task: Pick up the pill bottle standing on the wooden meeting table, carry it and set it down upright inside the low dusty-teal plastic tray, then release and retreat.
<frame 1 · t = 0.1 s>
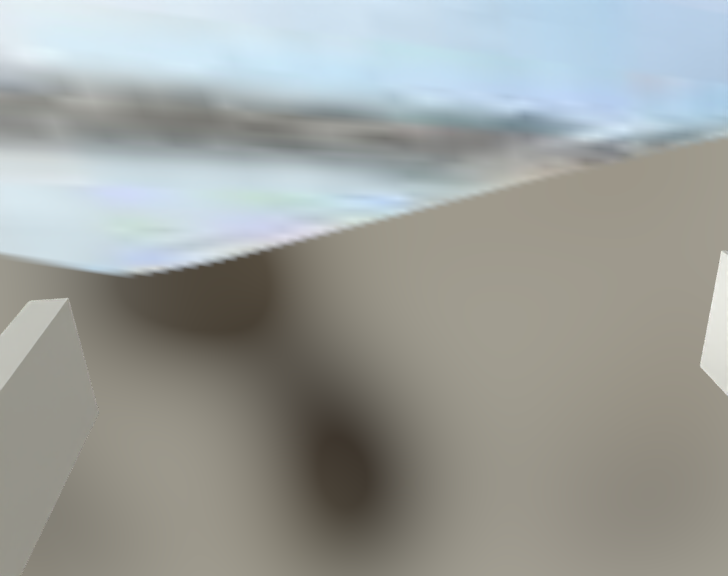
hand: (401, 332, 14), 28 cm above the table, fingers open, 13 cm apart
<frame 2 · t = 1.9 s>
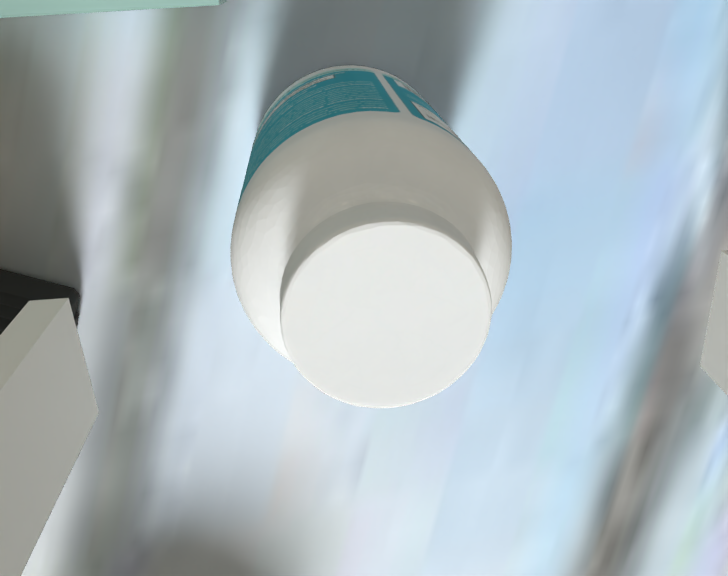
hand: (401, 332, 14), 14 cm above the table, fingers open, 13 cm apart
pill bottle: (349, 159, 27), on the table
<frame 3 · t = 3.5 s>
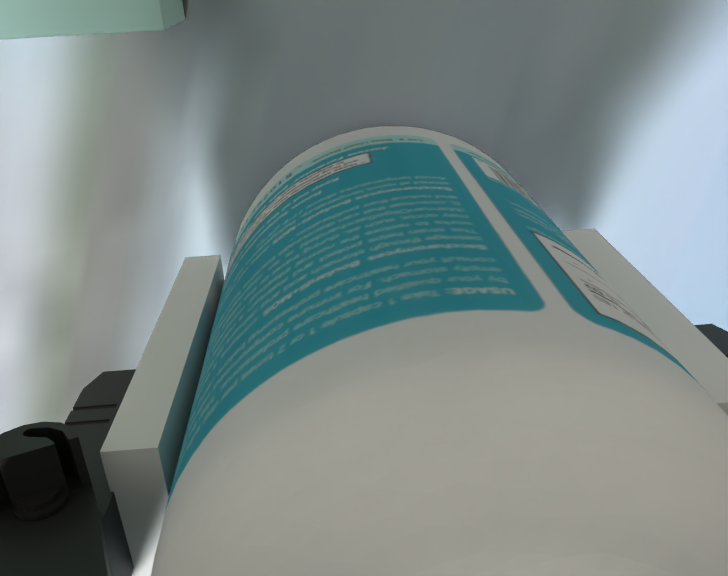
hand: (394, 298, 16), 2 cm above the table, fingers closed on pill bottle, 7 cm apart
pill bottle: (386, 265, 17), on the table, touching gripper
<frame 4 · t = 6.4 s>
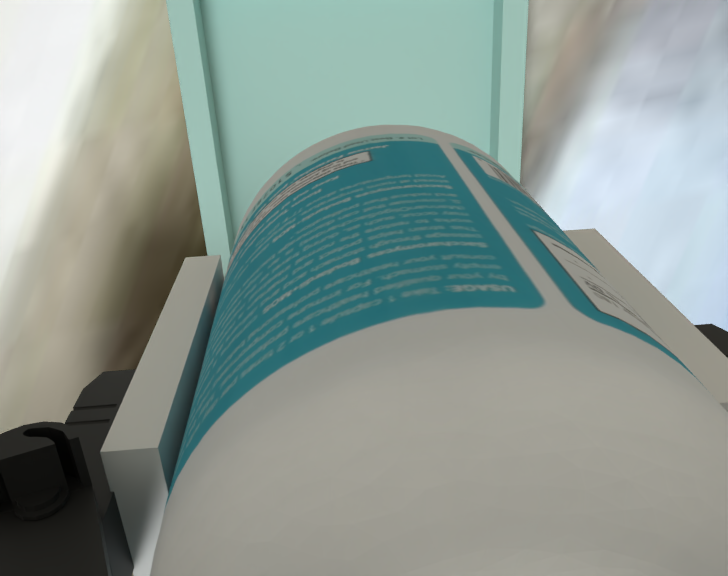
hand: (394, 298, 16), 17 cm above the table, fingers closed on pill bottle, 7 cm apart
pill bottle: (386, 264, 17), point 15 cm above the table, touching gripper
tray: (355, 129, 31), on the table
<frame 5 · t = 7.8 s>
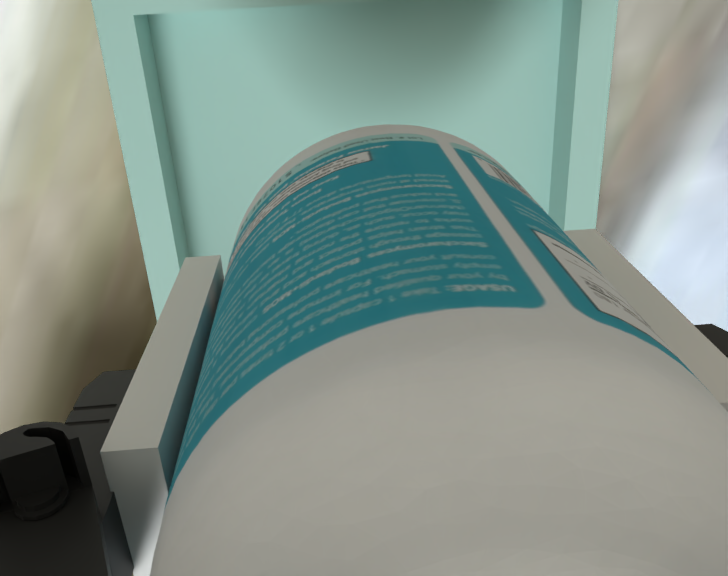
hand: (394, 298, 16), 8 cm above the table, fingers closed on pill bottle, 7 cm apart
pill bottle: (386, 264, 17), point 6 cm above the table, touching gripper
tray: (366, 193, 23), on the table
when the fingers open (3 cm above the table, at t = 9.2 s): pill bottle stays where it is, resting on tray.
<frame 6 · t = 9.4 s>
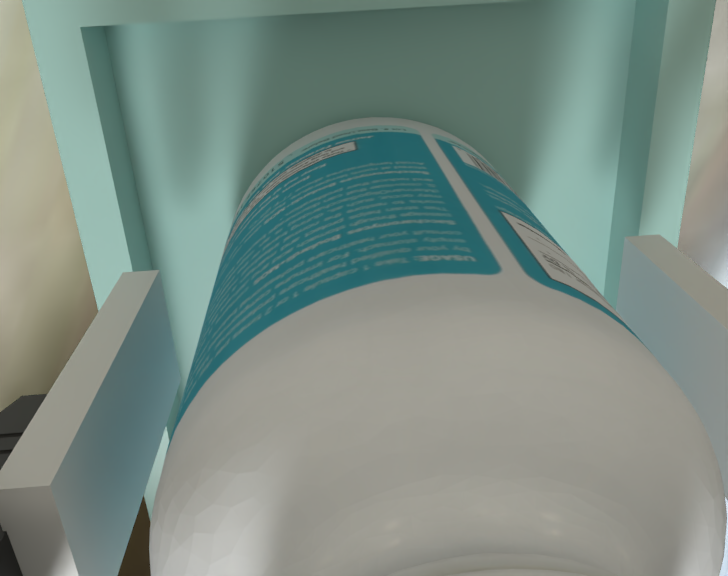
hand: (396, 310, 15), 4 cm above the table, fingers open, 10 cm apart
pill bottle: (375, 250, 18), resting on tray
tray: (381, 243, 19), on the table
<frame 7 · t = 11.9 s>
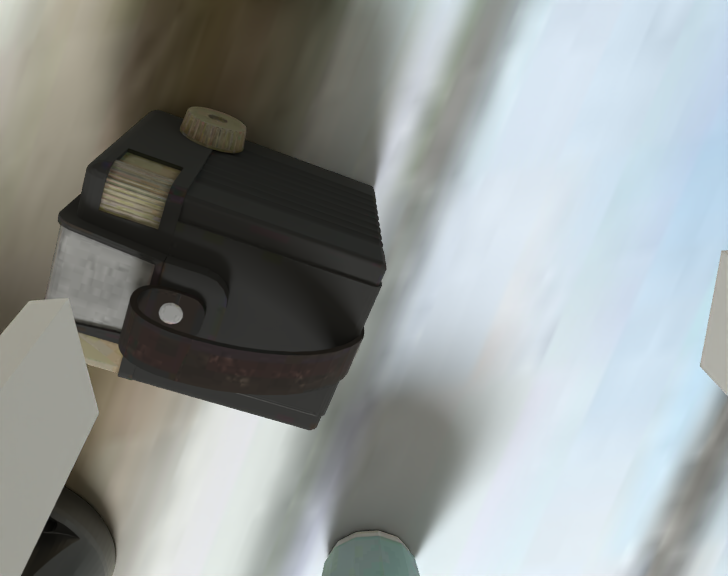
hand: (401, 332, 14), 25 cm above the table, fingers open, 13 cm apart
disposable coffee cup: (368, 560, 52), on the table
camera: (242, 212, 40), on the table
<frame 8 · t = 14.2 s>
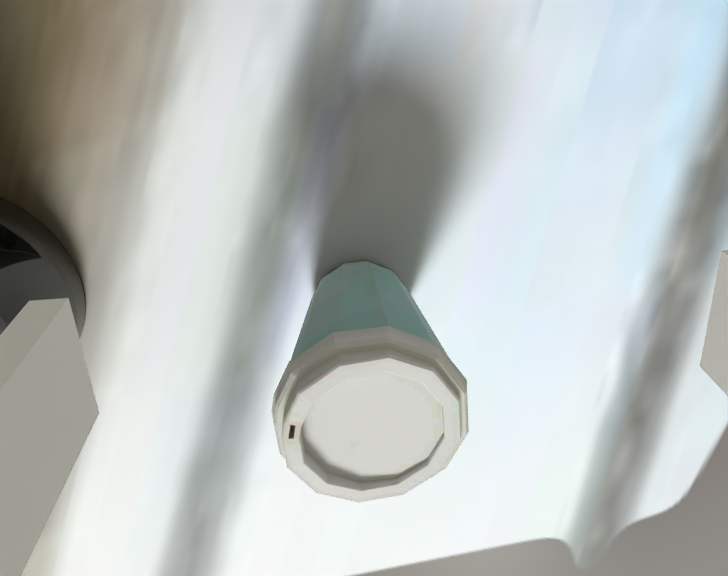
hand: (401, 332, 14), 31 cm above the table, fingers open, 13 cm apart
disposable coffee cup: (359, 303, 48), on the table
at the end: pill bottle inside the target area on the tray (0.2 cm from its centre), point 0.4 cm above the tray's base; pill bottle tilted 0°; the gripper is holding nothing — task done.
